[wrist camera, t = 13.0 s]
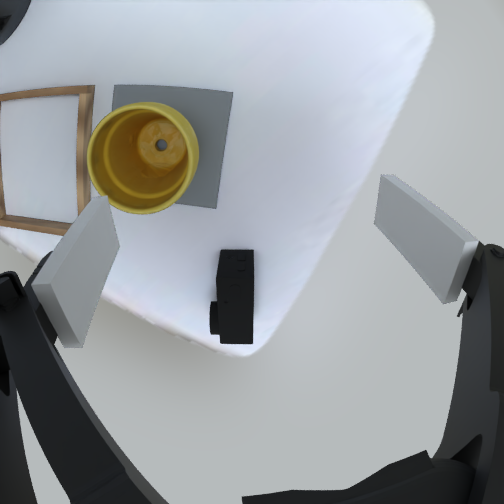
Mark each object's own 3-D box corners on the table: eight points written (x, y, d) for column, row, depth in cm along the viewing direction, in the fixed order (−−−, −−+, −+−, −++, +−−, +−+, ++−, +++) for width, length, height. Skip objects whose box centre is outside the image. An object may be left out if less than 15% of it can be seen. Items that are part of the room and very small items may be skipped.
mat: (116, 84, 31) (114, 84, 30) (233, 92, 32) (232, 92, 31) (110, 193, 37) (108, 195, 37) (216, 207, 38) (215, 208, 38)
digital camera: (211, 248, 41) (205, 277, 35) (253, 248, 41) (254, 278, 35) (215, 311, 46) (211, 344, 40) (252, 311, 46) (252, 344, 40)
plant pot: (171, 202, 37) (148, 237, 29) (108, 151, 34) (67, 171, 25) (227, 138, 34) (219, 153, 25) (159, 82, 30) (127, 79, 22)
